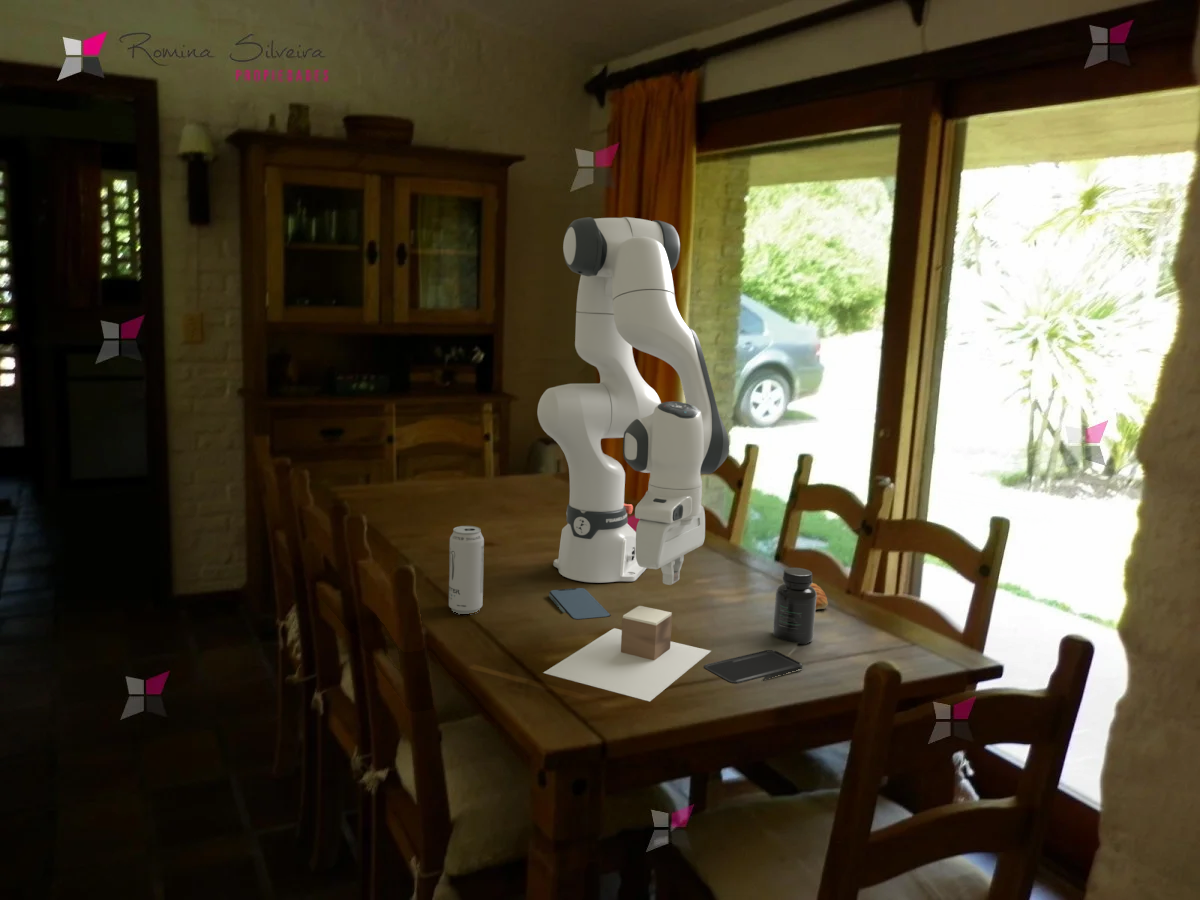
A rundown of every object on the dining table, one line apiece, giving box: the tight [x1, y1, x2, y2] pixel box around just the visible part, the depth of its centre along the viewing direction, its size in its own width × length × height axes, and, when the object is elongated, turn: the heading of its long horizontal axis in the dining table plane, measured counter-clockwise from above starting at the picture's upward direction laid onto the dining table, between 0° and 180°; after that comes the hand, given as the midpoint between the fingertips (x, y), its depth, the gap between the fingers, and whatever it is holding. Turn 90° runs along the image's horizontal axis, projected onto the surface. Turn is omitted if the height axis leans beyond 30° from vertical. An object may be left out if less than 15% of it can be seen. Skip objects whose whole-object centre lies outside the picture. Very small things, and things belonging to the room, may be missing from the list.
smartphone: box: [548, 587, 612, 621], centre depth 180 cm, size 8×2×15 cm
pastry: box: [810, 582, 829, 611], centre depth 188 cm, size 9×7×4 cm
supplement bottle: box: [772, 567, 817, 645], centre depth 169 cm, size 7×7×12 cm
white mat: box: [542, 627, 712, 702], centre depth 155 cm, size 23×18×1 cm
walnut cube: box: [621, 605, 673, 660], centre depth 159 cm, size 6×6×6 cm
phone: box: [703, 649, 803, 684], centre depth 155 cm, size 8×1×15 cm
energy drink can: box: [448, 525, 485, 615], centre depth 175 cm, size 6×6×15 cm
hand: (670, 582), depth 164 cm, fingers closed
